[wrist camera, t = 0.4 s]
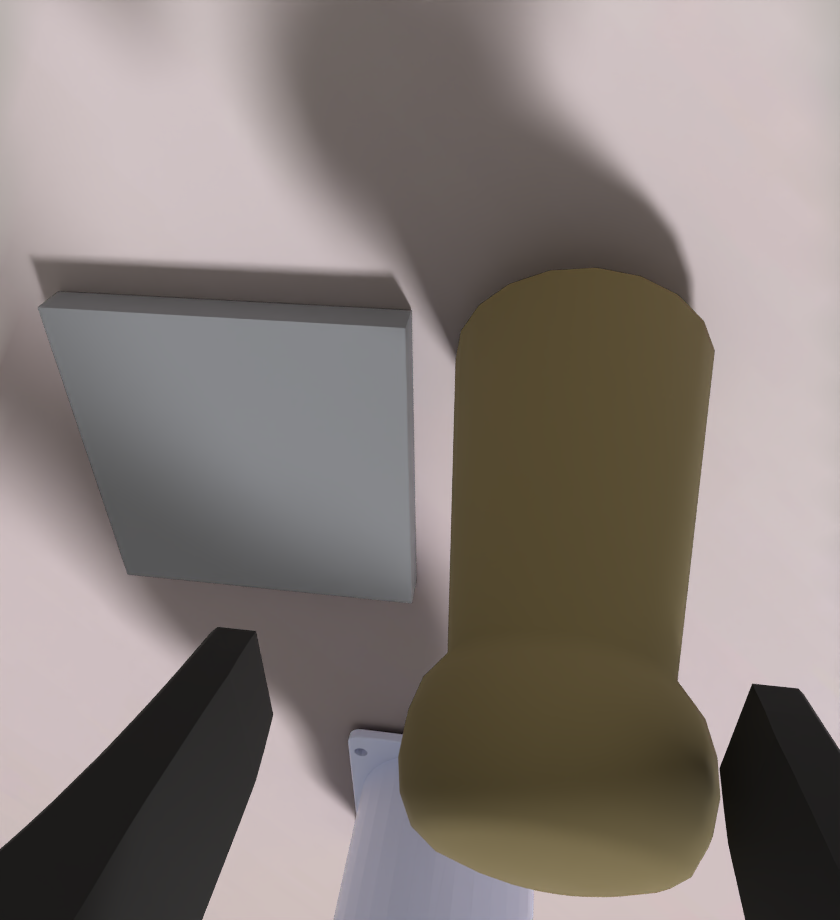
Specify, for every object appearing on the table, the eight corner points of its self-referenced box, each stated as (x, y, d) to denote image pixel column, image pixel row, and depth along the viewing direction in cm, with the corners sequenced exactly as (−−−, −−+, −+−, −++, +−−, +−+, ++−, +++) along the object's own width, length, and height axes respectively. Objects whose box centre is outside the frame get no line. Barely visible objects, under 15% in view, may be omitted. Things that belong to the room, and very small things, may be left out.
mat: (416, 580, 24) (411, 603, 23) (141, 553, 25) (127, 574, 25) (411, 310, 19) (404, 327, 18) (58, 291, 20) (37, 307, 19)
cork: (410, 373, 19) (291, 842, 13) (568, 216, 15) (509, 817, 8) (587, 474, 21) (563, 921, 15) (774, 363, 17) (857, 936, 10)
